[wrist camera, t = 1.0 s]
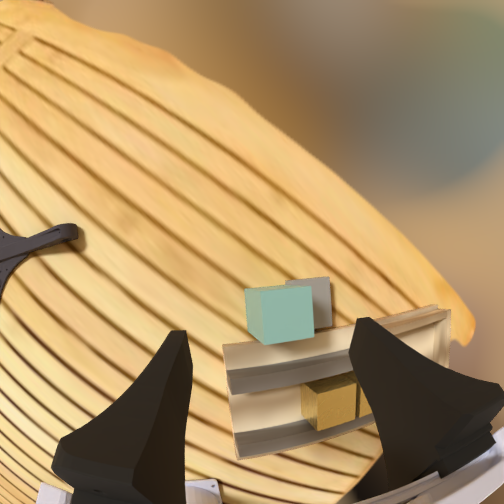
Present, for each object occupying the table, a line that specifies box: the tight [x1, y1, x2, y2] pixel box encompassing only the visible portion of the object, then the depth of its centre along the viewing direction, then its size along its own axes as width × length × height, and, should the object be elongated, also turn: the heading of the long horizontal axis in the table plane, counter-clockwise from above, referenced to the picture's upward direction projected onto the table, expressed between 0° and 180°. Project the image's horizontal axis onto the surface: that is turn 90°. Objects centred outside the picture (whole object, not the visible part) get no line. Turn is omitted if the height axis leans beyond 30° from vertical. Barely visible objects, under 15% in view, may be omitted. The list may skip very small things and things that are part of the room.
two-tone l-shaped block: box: [244, 277, 332, 345], centre depth 24 cm, size 5×8×6 cm, turn 95°
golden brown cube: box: [300, 374, 356, 431], centre depth 24 cm, size 4×4×4 cm
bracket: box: [0, 223, 78, 297], centre depth 21 cm, size 14×15×3 cm
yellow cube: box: [341, 370, 372, 418], centre depth 25 cm, size 4×4×4 cm
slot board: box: [222, 305, 451, 460], centre depth 26 cm, size 13×27×4 cm, turn 95°
